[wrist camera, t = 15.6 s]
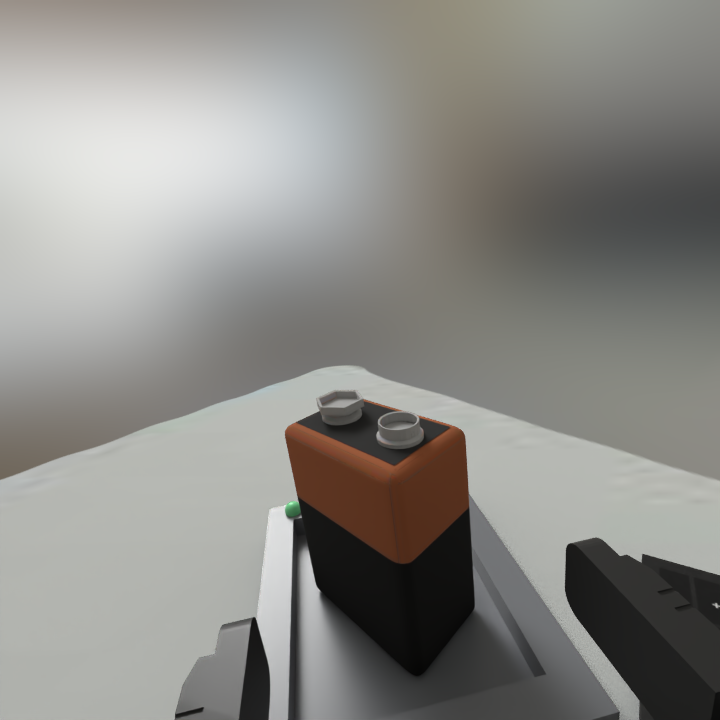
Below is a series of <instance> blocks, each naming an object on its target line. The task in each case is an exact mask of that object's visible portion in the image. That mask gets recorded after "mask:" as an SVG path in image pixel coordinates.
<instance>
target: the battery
mask: <svg viewBox="0 0 720 720" xmlns="http://www.w3.org/2000/svg"><path fill="white" fill-rule="evenodd" d="M316 399H317V404H318V408H319V410H320V411H319V412H317V413H315V414H313V415H310V416H308V417H306V418H304V419H302V420H300V421H298V422H296V423H293V424H292V425H290V426H288V427H287V429H286V431H285V438H286V443H287V448H288V453H289V458H290V462H291V467H292V472H293V477H294V482H295V487H296V491H297V496H298V501H299V506H300V511H301V515H302V520H303V525H304V530H305V535H306V540H307V544H308V549H309V554H310V559H311V564H312V569H313V573H314V578H315V583H316V586H317V588H318V589H319V590H320V591H321V592H322V593H323V594H324V595H325V596H326V597H327V598H328V599H330V600H331V601H332V602H333V603H334V604H335V605H336V606H337V607H338V608H339V609H340V610H341V611H342V612H344V613H345V614H346V615H347V616H348V617H349V618H350V619H351V620H352V621H353V622H354V623H355V624H357V625H358V626H359V627H360V628H361V629H362V630H363V631H364V632H365V633H366V634H367V635H368V636H369V637H371V638H372V639H373V640H374V641H375V642H376V643H377V644H378V645H379V646H380V647H381V648H382V649H384V650H385V651H386V652H387V653H388V654H389V655H390V656H391V657H392V658H393V659H394V660H395V661H397V662H398V663H399V664H400V665H401V666H402V667H403V668H404V669H405V670H407V671H408V672H409V673H411V674H412V675H415V676H420V675H422V674H423V673H424V672H425V671H426V670H427V669H428V667H429V666H430V665H431V664H432V662H433V661H434V660H435V659H436V657H437V656H438V655H439V653H440V652H441V651H442V650H443V648H444V647H445V646H446V645H447V643H448V642H449V641H450V639H451V638H452V637H453V636H454V634H455V633H456V632H457V631H458V629H459V628H460V627H461V626H462V624H463V623H464V622H465V620H466V619H467V618H468V617H469V615H470V614H471V613H472V611H473V610H474V608H475V595H474V577H473V560H472V543H471V526H470V509H469V491H468V474H467V457H466V441H465V435H464V433H463V431H462V430H461V429H459V428H457V427H455V426H452V425H449V424H446V423H442V422H439V421H436V420H432V419H429V418H425V417H422V416H419V415H416V414H414V413H412V412H406V411H402V410H398V409H395V408H391V407H388V406H385V405H381V404H378V403H374V402H371V401H368V400H364V399H363V397H362V396H361V395H360V393H359V392H358V390H334V391H332V392H329V393H327V394H325V395H323V396H320V397H318V398H316Z"/></svg>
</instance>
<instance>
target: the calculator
mask: <svg viewBox="0 0 720 720" xmlns="http://www.w3.org/2000/svg"><path fill="white" fill-rule="evenodd" d="M642 564H644V565H646V566H648V567H650V568H651V569H653V570H654V571H655V572H656V573H657V574H658V575H659V576H660V577H661V578H663V579H664V580H665V581H666V582H667V583H668V584H669V585H670V586H671V587H673V590H674V591H675V592H676V591H677V592H678V593H679V594H680V595H681V596H683V597H684V598H685V599H686V600H687V601H688V602H689V603H690V604H691V606H692V608H696V609H697V610H698V611H699V612H700V613H701V614H703V615H704V616H705V617H706V618H707V619H708V620H709V621H710V622H711V623H713V624H714V625H715V626H716V627H717V628H718V629H719V630H720V575H716V574H713V573H709V572H705V571H702V570H698V569H695V568H691V567H688V566H684V565H680V564H677V563H673V562H670V561H666V560H663V559H659V558H655V557H652V556H648V555H645V554H642ZM639 720H654V719H653V718H652V716H651V715H650V714H649V712H648V711H647V710H646V708H645V707H644V706H643V704H642V703H641V702H640V710H639Z"/></svg>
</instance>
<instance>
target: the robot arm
mask: <svg viewBox="0 0 720 720" xmlns="http://www.w3.org/2000/svg"><path fill="white" fill-rule="evenodd" d="M565 592H566V597H567V600H568V602H569V605H570V607H571V609H572V611H573V613H574V614H575V616H576V617H577V619H578V620H579V621H580V623H581V624H582V625H583V627H584V628H585V629H586V631H587V632H588V633H589V635H590V636H591V637H592V638H593V640H594V641H595V642H596V644H597V645H598V646H599V648H600V649H601V650H602V652H603V653H604V654H605V656H606V657H607V658H608V660H609V661H610V662H611V664H612V665H613V666H614V667H615V669H616V670H617V671H618V673H619V674H620V675H621V677H622V678H623V679H624V681H625V682H626V683H627V685H628V686H629V687H630V689H631V690H632V691H633V692H634V694H635V695H636V696H637V698H638V699H639V700H640V702H641V703H642V704H643V706H644V707H645V708H646V710H647V711H648V712H649V714H650V715H651V716H652V718H653V719H654V720H720V630H719V629H718V628H717V627H716V626H715V625H714V624H713V623H711V622H710V621H709V620H708V619H707V618H706V617H705V616H704V615H703V614H701V613H700V612H699V611H698V610H697V609H696V608H692V606H691V604H690V603H689V602H688V601H687V600H686V599H685V598H684V597H683V596H681V595H680V594H679V593H678V592H677V591H676V592H675V591H674V590H673V587H671V586H670V585H669V584H668V583H667V582H666V581H665V580H664V579H663V578H661V577H660V576H659V575H658V574H657V573H656V572H655V571H654V570H653V569H651V568H650V567H648V566H646V565H644V564H642V563H641V562H639V561H637V560H635V559H633V558H632V557H630V556H628V555H624V556H619V555H618V554H617V553H616V552H615V551H614V550H613V549H612V548H611V547H610V546H609V545H607V544H606V543H605V542H604V541H603V540H601V539H599V538H592V539H587V540H583V541H579V542H575V543H570V544H568V545H567V548H566V571H565ZM269 708H270V672H269V665H268V660H267V656H266V653H265V649H264V645H263V642H262V638H261V634H260V631H259V627H258V623H257V620H256V618H255V617H253V618H249V619H245V620H240V621H236V622H232V623H228V624H224V625H222V627H221V629H220V632H219V636H218V641H217V646H216V651H215V654H213V655H209V656H205V657H201V658H199V659H198V660H197V662H196V664H195V665H194V667H193V669H192V670H191V672H190V674H189V675H188V677H187V679H186V680H185V682H184V684H183V686H182V690H181V694H180V697H179V701H178V705H177V709H176V712H175V720H269Z"/></svg>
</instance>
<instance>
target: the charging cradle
mask: <svg viewBox="0 0 720 720" xmlns="http://www.w3.org/2000/svg"><path fill="white" fill-rule="evenodd" d="M469 509H470V526H471V543H472V560H473V577H474V595H475V608H474V610H473V611H472V613H471V614H470V615H469V617H468V618H467V619H466V620H465V622H464V623H463V624H462V626H461V627H460V628H459V629H458V631H457V632H456V633H455V634H454V636H453V637H452V638H451V639H450V641H449V642H448V643H447V645H446V646H445V647H444V648H443V650H442V651H441V652H440V653H439V655H438V656H437V657H436V659H435V660H434V661H433V662H432V664H431V665H430V666H429V667H428V669H427V670H426V671H425V672H424V673H423V674H422V675H420V676H415V675H412V674H411V673H409V672H408V671H407V670H405V669H404V668H403V667H402V666H401V665H400V664H399V663H398V662H397V661H395V660H394V659H393V658H392V657H391V656H390V655H389V654H388V653H387V652H386V651H385V650H384V649H382V648H381V647H380V646H379V645H378V644H377V643H376V642H375V641H374V640H373V639H372V638H371V637H369V636H368V635H367V634H366V633H365V632H364V631H363V630H362V629H361V628H360V627H359V626H358V625H357V624H355V623H354V622H353V621H352V620H351V619H350V618H349V617H348V616H347V615H346V614H345V613H344V612H342V611H341V610H340V609H339V608H338V607H337V606H336V605H335V604H334V603H333V602H332V601H331V600H330V599H328V598H327V597H326V596H325V595H324V594H323V593H322V592H321V591H320V590H319V589H318V588H317V586H316V583H315V578H314V573H313V569H312V564H311V559H310V554H309V549H308V544H307V540H306V535H305V530H304V525H303V520H302V515H301V511H300V506H299V503H298V502H296V501H292V502H289V503H288V504H287V505H285V506H280V507H275V508H270V510H269V519H268V527H267V536H266V544H265V553H264V561H263V569H262V578H261V586H260V595H259V603H258V611H257V623H258V627H259V631H260V634H261V638H262V642H263V645H264V649H265V653H266V656H267V660H268V665H269V672H270V708H269V720H619V710H618V709H617V707H616V706H615V705H614V703H613V702H612V700H611V699H610V697H609V696H608V694H607V693H606V692H605V690H604V689H603V687H602V686H601V684H600V683H599V681H598V680H597V679H596V677H595V676H594V674H593V673H592V671H591V670H590V668H589V667H588V665H587V664H586V663H585V661H584V660H583V658H582V657H581V655H580V654H579V652H578V651H577V650H576V648H575V647H574V645H573V644H572V642H571V641H570V639H569V638H568V637H567V635H566V634H565V632H564V631H563V629H562V628H561V626H560V625H559V623H558V622H557V621H556V619H555V618H554V616H553V615H552V613H551V612H550V610H549V609H548V608H547V606H546V605H545V603H544V602H543V600H542V599H541V597H540V596H539V594H538V593H537V592H536V590H535V589H534V587H533V586H532V584H531V583H530V581H529V580H528V579H527V577H526V576H525V574H524V573H523V571H522V570H521V568H520V567H519V566H518V564H517V563H516V561H515V560H514V558H513V557H512V555H511V554H510V552H509V551H508V550H507V548H506V547H505V545H504V544H503V542H502V541H501V539H500V538H499V537H498V535H497V534H496V532H495V531H494V529H493V528H492V526H491V525H490V524H489V522H488V521H487V519H486V518H485V516H484V515H483V513H482V512H481V510H480V509H479V508H478V506H477V505H476V503H475V502H474V500H473V499H472V497H471V496H470V495H469Z"/></svg>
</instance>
